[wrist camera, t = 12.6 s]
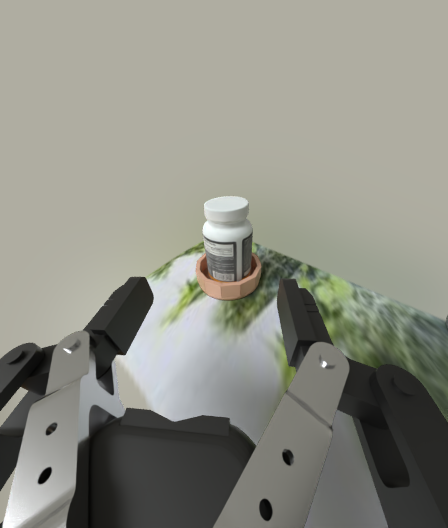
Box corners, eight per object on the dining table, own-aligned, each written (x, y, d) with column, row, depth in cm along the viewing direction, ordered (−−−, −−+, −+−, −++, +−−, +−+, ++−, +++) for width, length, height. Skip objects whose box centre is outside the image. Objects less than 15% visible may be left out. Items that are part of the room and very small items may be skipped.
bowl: (266, 267, 26) (268, 253, 24) (245, 309, 20) (246, 294, 19) (217, 255, 29) (215, 242, 28) (186, 288, 23) (183, 274, 22)
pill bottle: (234, 258, 27) (232, 191, 21) (259, 277, 23) (266, 202, 17) (201, 272, 25) (189, 201, 19) (223, 296, 21) (217, 217, 15)
